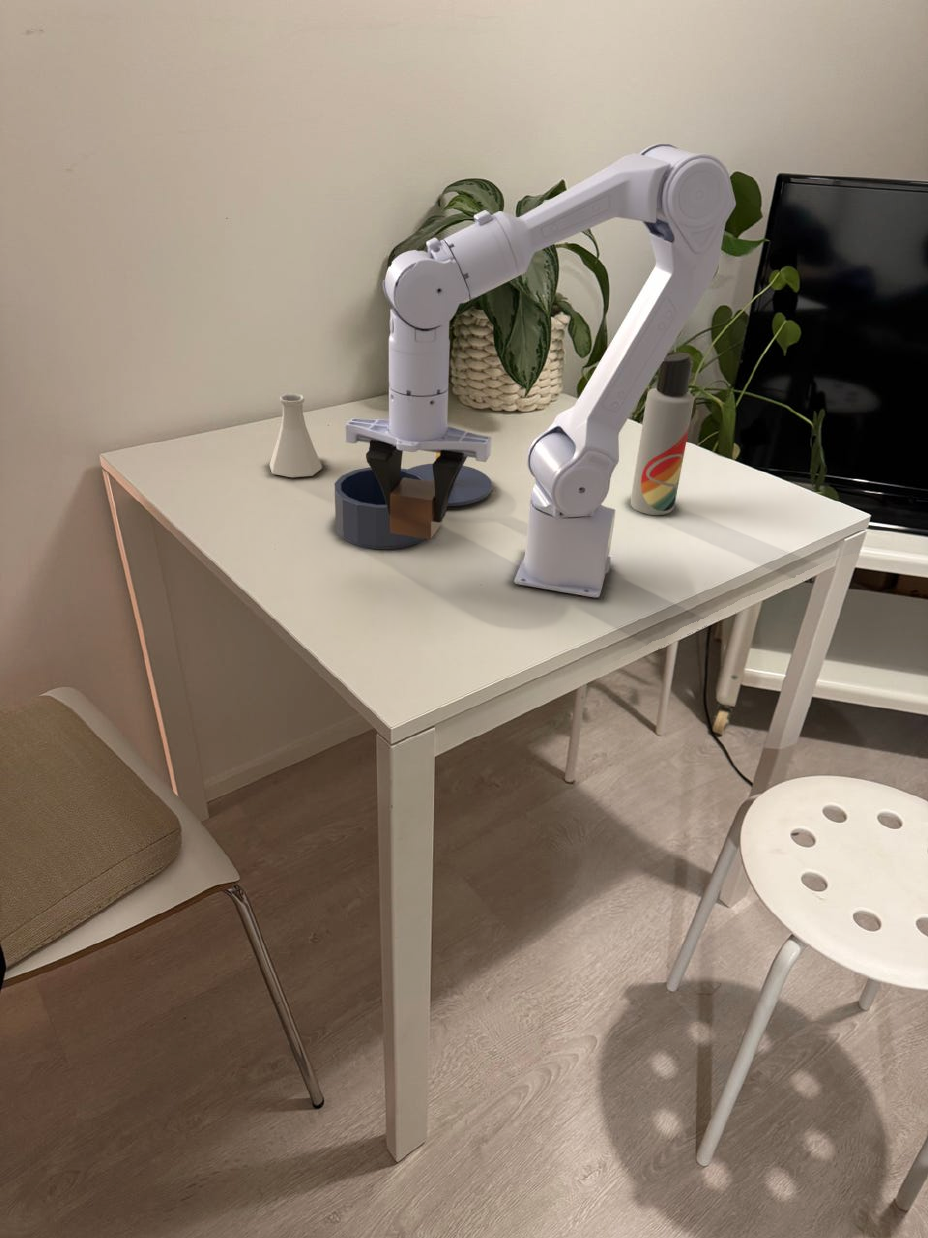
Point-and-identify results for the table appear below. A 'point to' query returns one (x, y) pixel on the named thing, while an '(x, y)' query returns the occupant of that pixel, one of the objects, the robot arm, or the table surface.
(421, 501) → the block
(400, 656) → the table surface
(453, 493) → the lid
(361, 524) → the tin
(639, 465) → the lotion bottle
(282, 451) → the flask
